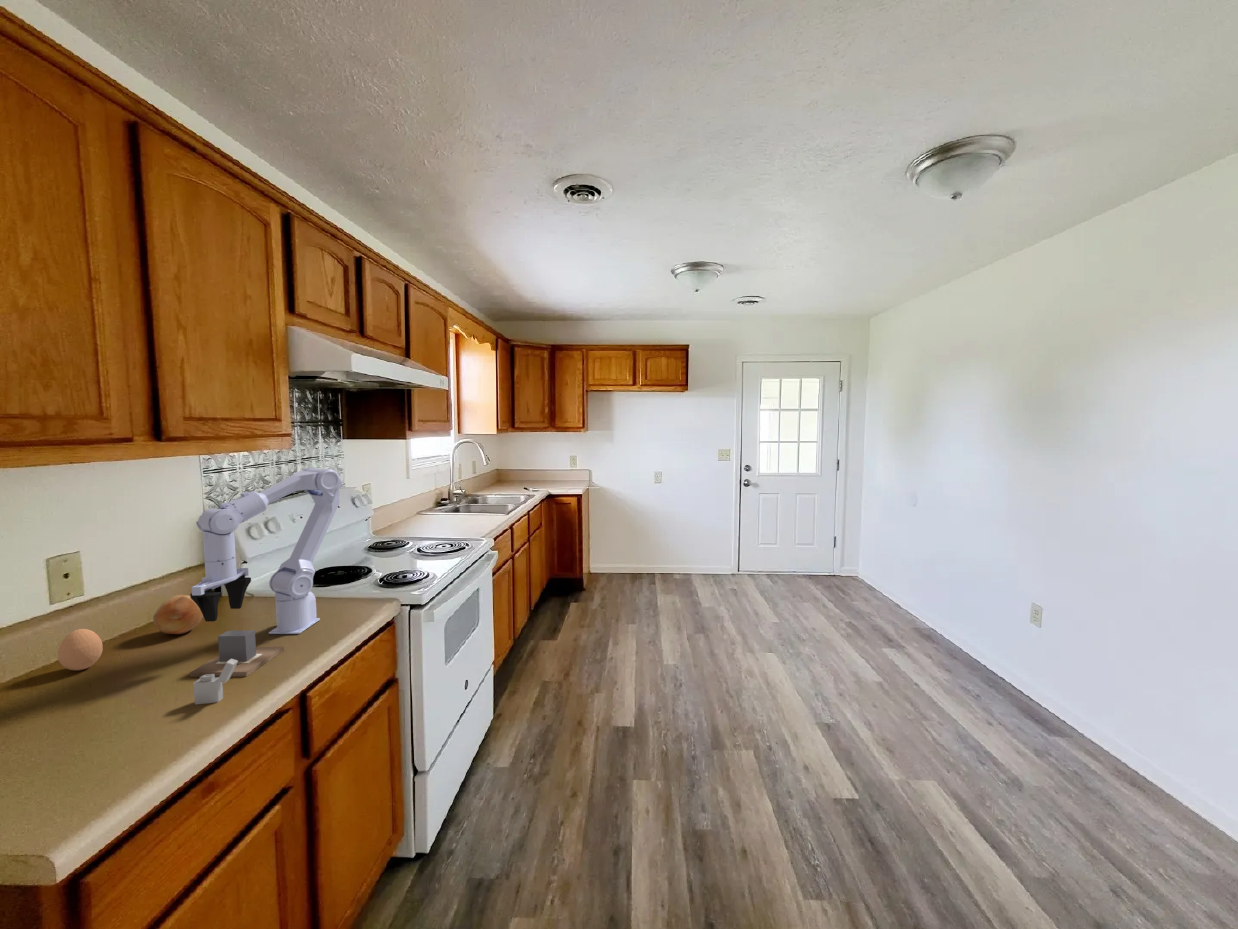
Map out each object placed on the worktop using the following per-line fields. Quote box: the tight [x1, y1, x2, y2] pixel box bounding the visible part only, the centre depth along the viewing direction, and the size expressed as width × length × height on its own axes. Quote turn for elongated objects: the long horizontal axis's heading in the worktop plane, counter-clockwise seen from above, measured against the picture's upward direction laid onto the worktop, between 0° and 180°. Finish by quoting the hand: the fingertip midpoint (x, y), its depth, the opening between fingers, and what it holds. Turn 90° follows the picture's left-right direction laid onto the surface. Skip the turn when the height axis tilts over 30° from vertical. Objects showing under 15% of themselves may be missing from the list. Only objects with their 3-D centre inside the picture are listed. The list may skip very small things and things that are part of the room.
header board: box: [189, 646, 285, 678], centre depth 109 cm, size 12×12×4 cm
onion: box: [152, 593, 204, 635], centre depth 125 cm, size 10×10×10 cm
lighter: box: [192, 659, 238, 706], centre depth 94 cm, size 7×2×8 cm, turn 103°
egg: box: [57, 628, 104, 671], centre depth 106 cm, size 7×7×9 cm
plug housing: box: [217, 629, 257, 662], centre depth 109 cm, size 3×6×6 cm, turn 92°
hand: (223, 614), depth 114 cm, fingers open, 7 cm apart
